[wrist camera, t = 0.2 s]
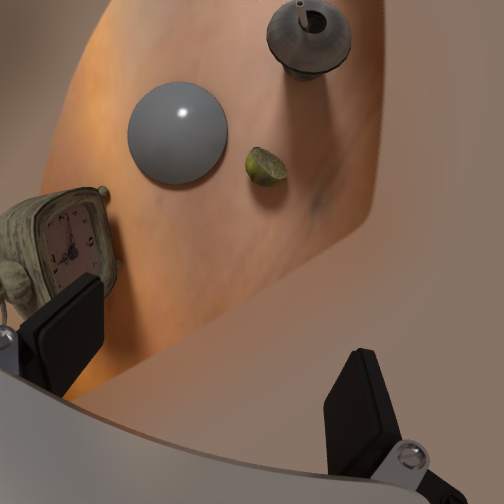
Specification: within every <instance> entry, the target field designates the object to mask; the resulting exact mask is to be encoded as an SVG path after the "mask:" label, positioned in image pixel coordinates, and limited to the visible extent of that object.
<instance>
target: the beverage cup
mask: <svg viewBox="0 0 504 504" xmlns="http://www.w3.org/2000/svg"><path fill="white" fill-rule="evenodd" d="M266 39H267V43H268V46H269V49H270V51H271V53H272V54H273V55H274V57H275V58H276V60H277V61H279V62H280V63H281V64H282V65H283V67H284V69H285V70H286V72H287V73H288V74H289V75H290V76H291V77H292V78H294V79H296V80H299V81H309V80H313V79H314V78H316V77H318V76H319V75H321V74H322V73H328V72H329V71H331V70H333V69H335V68H337V67H339V66H340V65H341V64H342V63H343V62H344V61H345V60H346V59H347V56H348V54H349V51H350V49H351V31H350V28H349V25H348V22H347V20H346V19H345V17H344V16H343V15H342V13H341V12H340V11H339V10H338V9H336V8H335V7H334V6H332V5H331V4H330V3H327V2H325V1H322V0H293V1H290V2H288V3H286V4H284V5H282V6H281V7H280V8H279V9H278V10H277V11H276V12H275V13H274V15H273V17H272V19H271V21H270V23H269V25H268V27H267V38H266Z"/></svg>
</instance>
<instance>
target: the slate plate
mask: <svg viewBox="0 0 504 504" xmlns="http://www.w3.org/2000/svg"><path fill="white" fill-rule="evenodd" d="M227 136H228V127H227V120H226V116H225V113H224V111H223V108H222V107H221V105H220V103H219V102H218V101H217V99H216V98H215V97H214V96H213V95H212V94H211V93H209V92H208V91H207V90H205V89H203V88H201V87H199V86H197V85H194V84H191V83H186V82H172V83H167V84H164V85H161V86H159V87H157V88H155V89H153V90H151V91H150V92H149V93H147V94H146V95H145V96H144V97H143V98H142V99H141V100H140V101H139V103H138V104H137V106H136V107H135V109H134V111H133V113H132V115H131V118H130V121H129V125H128V145H129V150H130V153H131V155H132V157H133V159H134V161H135V163H136V164H137V166H138V167H139V168H140V169H141V170H142V171H143V172H144V173H145V174H146V175H147V176H149V177H151V178H152V179H154V180H156V181H159V182H162V183H166V184H184V183H188V182H191V181H194V180H196V179H198V178H200V177H201V176H203V175H205V174H206V173H207V172H209V171H210V170H211V169H212V168H213V167H214V166H215V165H216V163H217V162H218V161H219V159H220V157H221V156H222V154H223V151H224V149H225V146H226V142H227Z"/></svg>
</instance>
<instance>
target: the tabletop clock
mask: <svg viewBox="0 0 504 504" xmlns="http://www.w3.org/2000/svg"><path fill="white" fill-rule="evenodd" d="M107 193H108V189H107V188H106V187H105V186H100V187H98V189H95V188H93V187H81V188H76V189H71V190H66V191H61V192H56V193H51V194H46V195H42V196H38V197H34V198H30V199H26V200H24V201H22V202H20V203H18V204H17V205H15V206H13V207H11V208H10V209H8V210H7V211H5V212H4V213H3V214H2V215H1V216H0V306H1V311H2V321H3V322H2V325H6V321H7V310H6V304H5V300H6V301H7V302H9V303H11V304H12V305H13V306H14V308H15V309H16V311H17V312H18V313H19V315H20V316H21V317H22V318H23V319H24V320H25V321H26V320H27V319H28V318H29V317H30V316H32V315H33V314H34V313H35V312H36V311H38V310H39V309H40V308H41V307H42V306H44V305H45V304H46V303H47V302H48V301H50V300H51V299H52V298H53V297H55V296H56V295H57V294H58V293H60V292H61V291H62V290H63V289H65V288H66V287H67V286H68V285H70V284H71V283H72V282H73V281H75V280H76V279H77V278H79V277H80V276H81V275H82V274H84V273H85V272H88V273H91V274H94V275H96V276H99V277H100V278H101V281H102V282H103V283H104V299H105V298H106V297H107V296H108V295H109V293H110V291H111V290H112V288H113V287H114V284H115V282H116V280H117V269H119V268H120V267H121V266H122V261H121V260H120V259H119V258H115V254H114V249H113V243H112V237H111V232H110V228H109V224H108V220H107V215H106V211H105V207H104V203H103V200H102V197H105V196H106V195H107ZM4 299H5V300H4Z"/></svg>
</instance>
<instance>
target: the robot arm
mask: <svg viewBox="0 0 504 504" xmlns="http://www.w3.org/2000/svg"><path fill="white" fill-rule="evenodd" d="M103 342H104V283H103V282H102V281H101V278H100V277H99V276H96V275H94V274H91V273H88V272H85V273H84V274H82V275H81V276H80V277H79V278H77V279H76V280H75V281H73V282H72V283H71V284H70V285H68V286H67V287H66V288H65V289H63V290H62V291H61V292H60V293H58V294H57V295H56V296H55V297H53V298H52V299H51V300H50V301H48V302H47V303H46V304H45V305H44V306H42V307H41V308H40V309H39V310H38V311H36V312H35V313H34V314H33V315H32V316H30V317H29V318H28V319H27V320H26V321H25V322H23V323H22V324H21V325H20V329H19V330H17V331H15V330H14V329H13V328H11V327H9V326H6V325H0V504H468V503H467V500H466V498H465V496H464V495H463V494H462V493H461V492H460V491H458V490H457V489H455V488H454V487H452V486H451V485H450V484H448V483H447V482H445V481H444V480H442V479H441V478H440V477H438V476H437V475H436V474H434V473H433V472H431V471H430V470H428V467H429V463H430V457H429V455H428V452H427V451H426V449H425V448H424V447H423V446H422V445H421V444H419V443H417V442H415V441H413V440H402V437H401V434H400V430H399V426H398V423H397V420H396V416H395V413H394V410H393V406H392V404H391V400H390V397H389V394H388V391H387V388H386V385H385V382H384V379H383V376H382V373H381V370H380V367H379V364H378V361H377V358H376V355H375V352H374V351H373V350H368V349H363V348H359V349H357V350H356V351H352V352H351V354H350V356H349V358H348V360H347V362H346V363H345V366H344V367H343V369H342V371H341V373H340V375H339V377H338V379H337V380H336V382H335V384H334V386H333V387H332V389H331V391H330V393H329V394H328V396H327V398H326V400H325V402H324V407H323V409H324V421H325V435H326V448H327V462H328V463H327V464H328V475H325V474H316V473H309V472H301V471H294V470H286V469H280V468H274V467H268V466H262V465H257V464H252V463H246V462H242V461H238V460H233V459H228V458H225V457H220V456H216V455H212V454H208V453H204V452H201V451H197V450H193V449H190V448H186V447H183V446H180V445H177V444H173V443H170V442H167V441H164V440H161V439H158V438H155V437H152V436H149V435H147V434H144V433H141V432H138V431H136V430H133V429H130V428H128V427H125V426H123V425H120V424H117V423H115V422H113V421H110V420H108V419H106V418H103V417H101V416H99V415H96V414H94V413H92V412H90V411H87V410H85V409H83V408H81V407H79V406H76V405H75V404H73V403H71V402H69V401H67V400H64V399H62V397H63V396H64V395H65V393H66V392H67V391H68V389H69V388H70V387H71V385H72V384H73V383H74V381H75V380H76V379H77V377H78V376H79V375H80V374H81V372H82V371H83V370H84V368H85V367H86V366H87V364H88V363H89V362H90V361H91V359H92V358H93V357H94V356H95V354H96V353H97V352H98V350H99V349H100V348H101V347H102V345H103Z"/></svg>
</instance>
